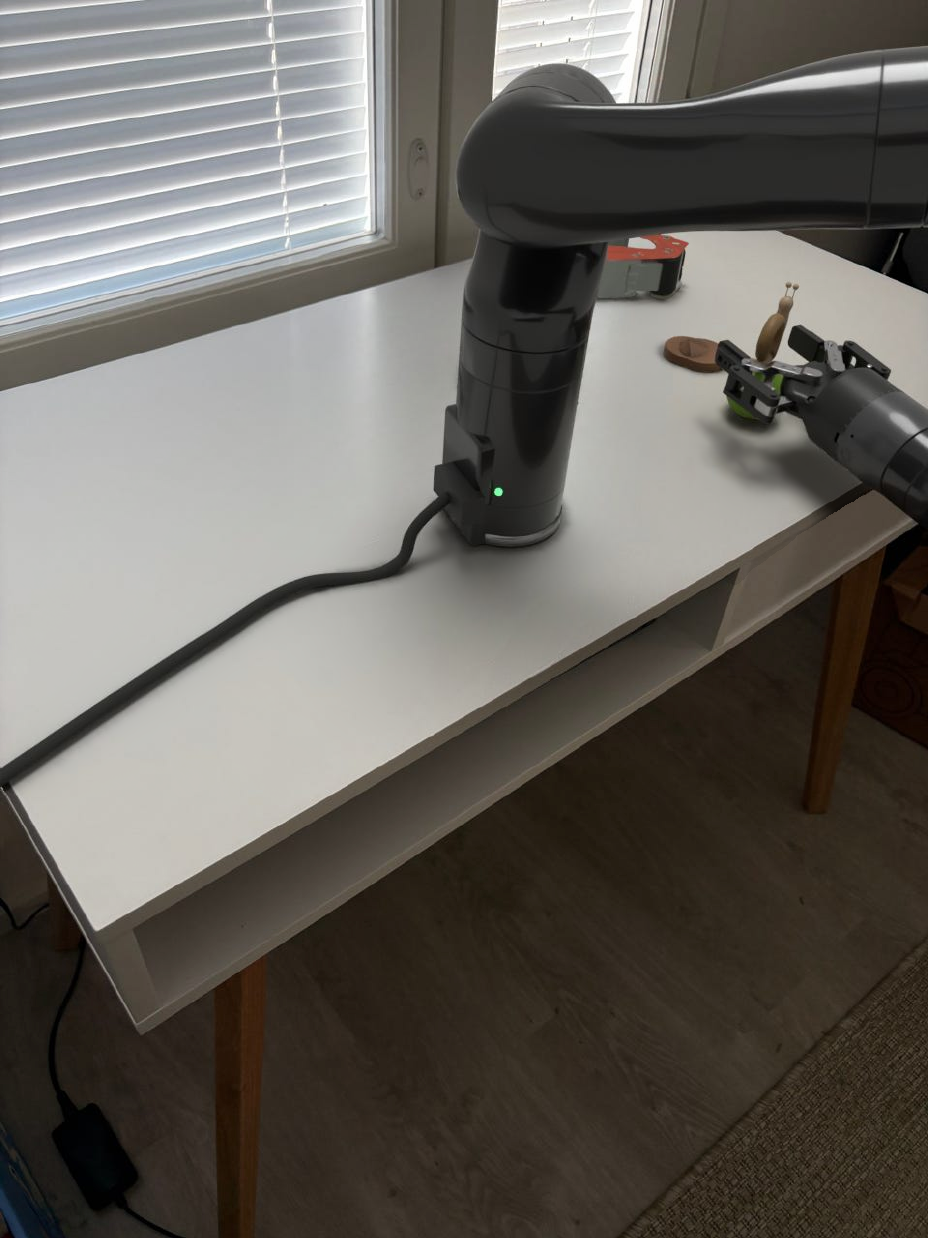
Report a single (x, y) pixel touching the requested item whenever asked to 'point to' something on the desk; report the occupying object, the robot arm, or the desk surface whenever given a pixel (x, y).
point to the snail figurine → (770, 345)
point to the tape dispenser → (643, 268)
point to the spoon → (692, 353)
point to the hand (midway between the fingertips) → (756, 341)
